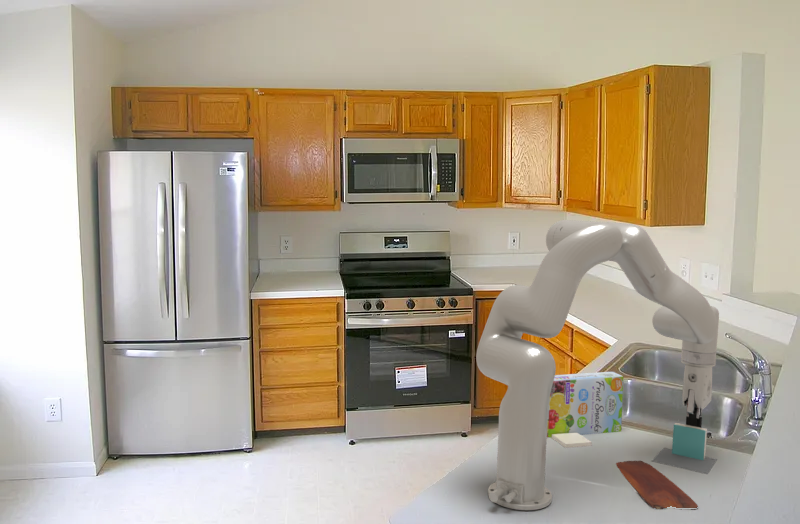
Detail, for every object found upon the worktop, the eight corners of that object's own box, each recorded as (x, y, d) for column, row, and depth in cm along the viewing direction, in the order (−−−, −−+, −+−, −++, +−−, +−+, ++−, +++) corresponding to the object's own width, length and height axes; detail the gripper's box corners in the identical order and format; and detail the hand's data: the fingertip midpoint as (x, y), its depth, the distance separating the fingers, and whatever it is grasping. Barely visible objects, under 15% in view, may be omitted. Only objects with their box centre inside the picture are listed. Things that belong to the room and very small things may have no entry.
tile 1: (591, 449, 172) (591, 442, 172) (565, 451, 170) (566, 444, 170) (576, 439, 179) (576, 432, 178) (551, 441, 177) (551, 434, 176)
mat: (707, 475, 156) (707, 474, 156) (651, 462, 163) (651, 461, 163) (717, 460, 165) (717, 459, 165) (664, 449, 172) (664, 447, 172)
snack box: (609, 426, 188) (612, 370, 186) (621, 433, 183) (625, 376, 181) (537, 432, 182) (539, 374, 180) (547, 439, 176) (550, 380, 175)
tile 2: (703, 460, 164) (705, 430, 163) (671, 453, 168) (673, 424, 167) (704, 458, 166) (707, 428, 165) (673, 451, 169) (675, 422, 169)
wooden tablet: (701, 512, 139) (702, 504, 139) (651, 512, 138) (652, 504, 138) (647, 460, 166) (647, 453, 165) (605, 460, 165) (605, 453, 165)
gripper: (708, 366, 159) (702, 445, 161) (721, 354, 171) (716, 428, 173) (673, 360, 163) (668, 438, 165) (689, 349, 176) (684, 421, 177)
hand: (693, 432), depth 169 cm, fingers closed
